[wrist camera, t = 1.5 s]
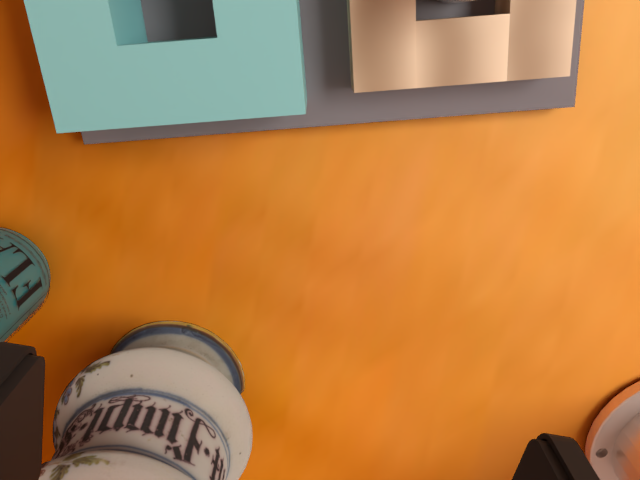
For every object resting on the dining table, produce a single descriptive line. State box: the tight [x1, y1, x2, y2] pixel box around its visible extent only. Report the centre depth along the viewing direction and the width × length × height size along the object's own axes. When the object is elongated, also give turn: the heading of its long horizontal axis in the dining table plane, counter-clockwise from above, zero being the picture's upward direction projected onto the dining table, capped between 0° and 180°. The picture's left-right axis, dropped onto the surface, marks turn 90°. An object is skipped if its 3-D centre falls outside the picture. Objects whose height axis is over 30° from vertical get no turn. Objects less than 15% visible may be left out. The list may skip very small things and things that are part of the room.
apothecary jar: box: [39, 321, 252, 480], centre depth 31 cm, size 12×12×18 cm
